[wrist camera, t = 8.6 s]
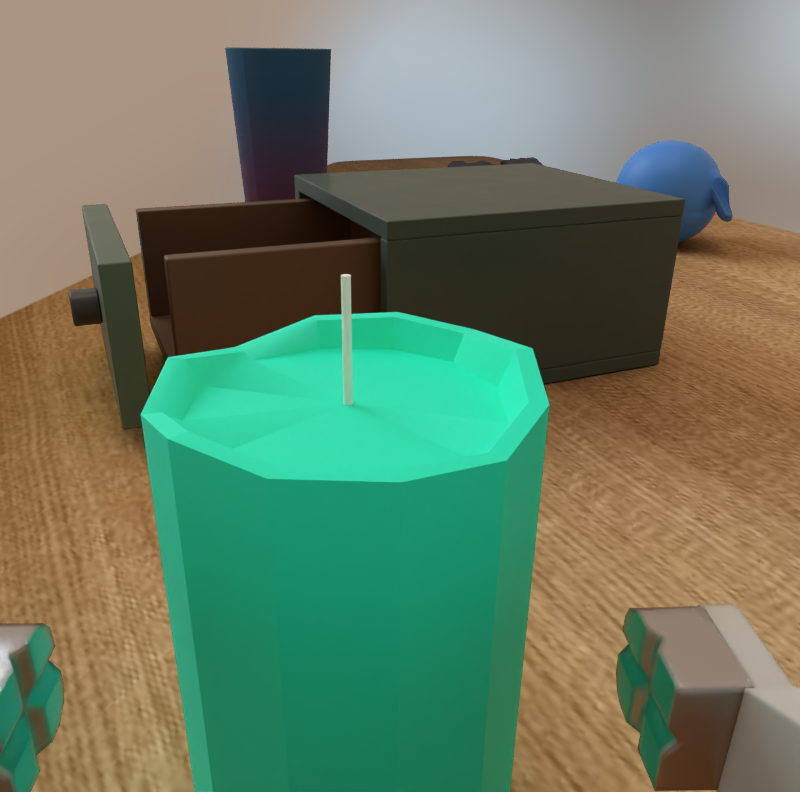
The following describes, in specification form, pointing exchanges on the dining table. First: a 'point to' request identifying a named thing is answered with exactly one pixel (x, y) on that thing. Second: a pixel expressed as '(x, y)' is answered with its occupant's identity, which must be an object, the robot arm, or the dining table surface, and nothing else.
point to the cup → (279, 116)
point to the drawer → (219, 279)
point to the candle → (349, 551)
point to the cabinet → (521, 256)
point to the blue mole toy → (681, 181)
